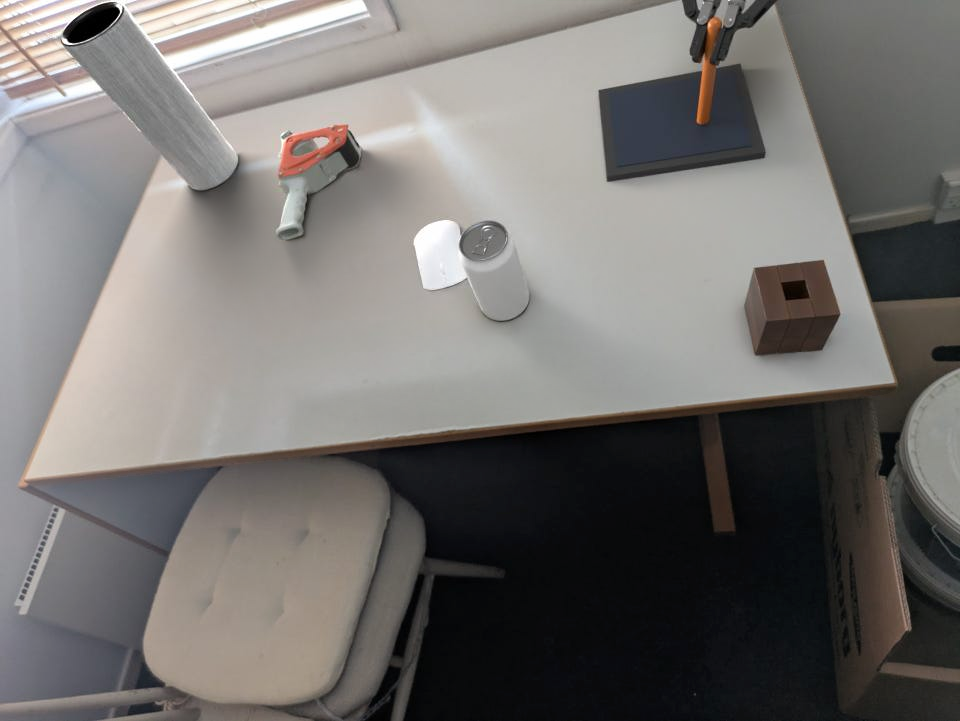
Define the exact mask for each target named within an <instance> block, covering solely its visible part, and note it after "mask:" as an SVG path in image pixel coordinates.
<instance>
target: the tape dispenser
mask: <svg viewBox="0 0 960 721" xmlns="http://www.w3.org/2000/svg"><path fill="white" fill-rule="evenodd" d="M316 138H317V139H319V138H327V139H328V140H329V141H328V143H327V144H325V145H324V146H323V145H322V146H321V147H319V145H318V144H317V143H316V142H315V140H314V139H316ZM280 140H281V148H280V151H279V152H278V158H279V159H280V164H279V169H278V172H277V178H278V187H279V188H280V189H281V190H282V191H283V193H285V194H288V195H287V197H286V200H285V203H284V207H283V210H282V214H281V218H280V225H279V226H278V228H277V229H276V230H275V234H274V235H275V236H276V238H277V239H279V240H281V241H290V240H293V239H295V238H298V237H300V236H302V235H303V234H304V228H303V222H304V220H305V211H306V203H307V201H308V199H307V195H309V194H315V193H318V192H319V191H321V190H322V189H323V188H324V187H326V186H327V185H329V184H331V183H332V182H333V181H335V180H336V179H337V177H338V174H339V173H341V172H342V171H343V170H345V169H346V170H353V169H355V168H357V167H358V165H359V164H360V160H361V156H362V151H363V147H362V146H361V145H360V144H359V142H358V141H357V139H356V137H355V136H354V134H353V133H352V131H351V130H350V129H349V124H332V125H331V126H327V127H323V128H318V129H313V130H309V131H302V132H297V133H295V132H294V131H292V130H290V129H289V130H286V131H284V132H282V134H281V135H280Z"/></svg>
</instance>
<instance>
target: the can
mask: <svg viewBox="0 0 960 721" xmlns="http://www.w3.org/2000/svg"><path fill="white" fill-rule="evenodd" d="M459 258H460V261H461V264H462V266H463V269H464V271H465V273H466V276H467V278H466V279H467V280H468V282H469V285H470V287H471V290H472V292H473V294H474V297H475V299H476V301H477V303H478V306H479V309H480V310H481V312H482V313H483V314H484V316H486V317H487V318H488V319H491V320H494V321H498V322H499V321H500V322H501V321H509V320H512V319H515V318H516V317H518V316H519V315H521V314H522V313H523V312H524V311H525V310H526V308H527V306H528V304H529V302H530V292H529V288H528V284H527V280H526V277H525V274H524V270H523V266H522V264H521V259H520V256H519V253H518V249H517V246H516V243H515V240H514V238H513V236H512V234H511V233H510V232H509V231H508V230H507V228H506V227H505V225H504V224H502V223H500V222H499V221H497V220H490V219H489V220H486V219H485V220H480V221H477V222H475V223H473V224H471V225H469V226H468V227H466V228H465V229H464V231H463V232H462V234H461V237H460V239H459Z"/></svg>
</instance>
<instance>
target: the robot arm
mask: <svg viewBox="0 0 960 721" xmlns="http://www.w3.org/2000/svg"><path fill="white" fill-rule="evenodd" d="M722 1H723V0H702V4H701V8H700V9H699V6H698V1H697V0H681V4H682V7H683V12H684V15H685V17H686V18H687V19H689V21H690V22H693V23H694V24H695V30H694V33H693V37H692V40H691V43H690V47H689V56H691V61H692V62H693V63H694V64H701V63H702V62H703V60H704V52H705V44H706V35H707V26H708V22H709V21H710V20H711V19H712V18H714V17H716V15H717V11H718V9H720V6H721V3H722ZM777 2H778V0H754V1H753V2H752V4H750V5H749V7H748V8H747V9H746V10H745V11H744V9H745V7H746V3H747V0H728V1H727V7H726V8H727V9H726V12H725V15H724V19H723V23H722V28H720V29H719V32H718V36H717V39H716V42H715V45H714V48H713V51H712V55H711V58H710V64H711V65H714V66H716V67H719V65H720V62H724V61H725V60H726V59H727V58H728V54H729V51H730V48H731V45H732V42H733V39H734V36H735V33H736V32H737V31H739V30H741V29H751V28H754V26H755V25H756V24H757V23H758V22H759V21H760V20H761V18H762V17H764V15H766V13H767V12H768V11H769V10H770V9H771V8H772V7H773V6H774V5H775V4H776V3H777ZM743 11H744V12H743Z"/></svg>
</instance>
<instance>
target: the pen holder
mask: <svg viewBox="0 0 960 721" xmlns="http://www.w3.org/2000/svg"><path fill="white" fill-rule="evenodd" d="M743 308H744V311H745V315H746V320H747V325H748V329H749V333H750V340H751V343H752V347H753V352H754V356H766V355H776V354H789V353H790V354H791V353H792V354H793V353H802V352H804V353H805V352H817V351H823V349H824V348H825V346H826V344H827V342H828V340H829V338H830V336H831V334H832V333H833V331H834V328H835V326H836V324H837V322H838V320H839V318H841V310H840V307H839V303H838V300H837V298H836V295H835V291H834V288H833V284H832V282H831V279H830V276H829V272H828V269H827V266H826V262H825V260H824V259H818V260H809V261H800V262H793V263H784V264H776V265H766V266H757V267H753V269H752V272H751V277H750V281H749V285H748V288H747V292H746V297H745V301H744V305H743Z"/></svg>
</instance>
